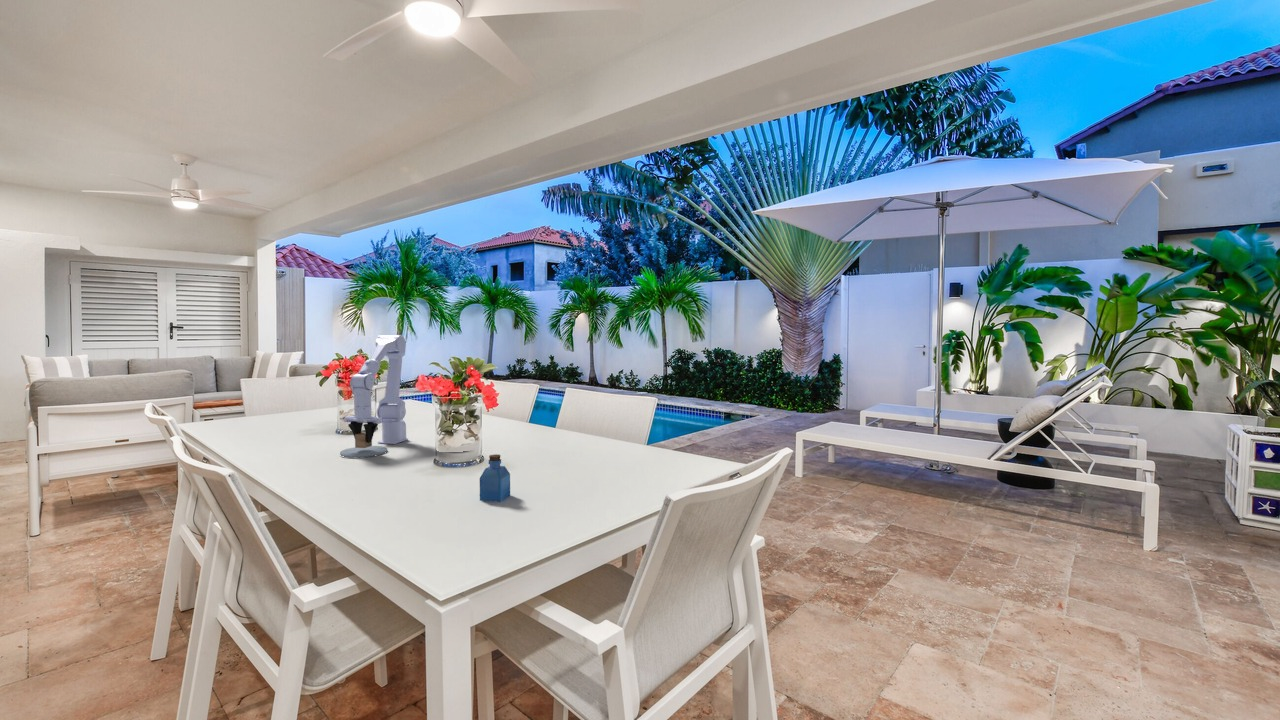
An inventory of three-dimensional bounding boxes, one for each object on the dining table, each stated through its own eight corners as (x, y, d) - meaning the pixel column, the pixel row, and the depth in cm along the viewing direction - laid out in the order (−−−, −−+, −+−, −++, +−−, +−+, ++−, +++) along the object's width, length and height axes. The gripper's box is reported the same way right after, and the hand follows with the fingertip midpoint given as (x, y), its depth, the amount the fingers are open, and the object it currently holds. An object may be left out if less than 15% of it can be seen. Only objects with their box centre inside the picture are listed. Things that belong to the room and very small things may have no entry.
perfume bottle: (500, 501, 154) (500, 458, 153) (479, 500, 155) (479, 457, 154) (510, 495, 160) (509, 453, 159) (490, 493, 161) (489, 452, 160)
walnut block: (362, 445, 213) (362, 432, 212) (371, 445, 212) (371, 432, 212) (355, 447, 209) (354, 434, 209) (364, 448, 208) (364, 434, 208)
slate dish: (359, 447, 220) (359, 445, 220) (396, 449, 217) (396, 446, 217) (329, 456, 204) (329, 454, 204) (369, 459, 201) (369, 456, 201)
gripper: (338, 406, 207) (339, 443, 208) (373, 408, 204) (374, 444, 205) (351, 404, 214) (352, 439, 215) (385, 405, 211) (386, 440, 212)
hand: (363, 441), depth 210 cm, fingers closed on walnut block, 4 cm apart
